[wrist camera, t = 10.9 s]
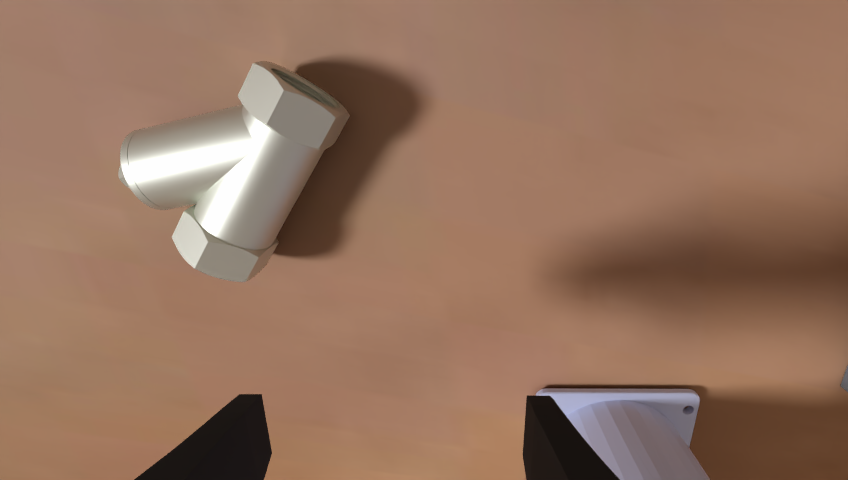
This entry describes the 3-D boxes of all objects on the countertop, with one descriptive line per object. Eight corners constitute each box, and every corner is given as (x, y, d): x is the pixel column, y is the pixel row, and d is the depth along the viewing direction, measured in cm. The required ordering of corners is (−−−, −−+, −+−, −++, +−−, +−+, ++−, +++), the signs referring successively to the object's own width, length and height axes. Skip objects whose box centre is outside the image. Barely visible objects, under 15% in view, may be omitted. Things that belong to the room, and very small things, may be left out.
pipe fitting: (146, 181, 20) (273, 260, 21) (74, 199, 17) (231, 294, 17) (215, 17, 18) (357, 111, 19) (149, -4, 14) (329, 114, 15)
